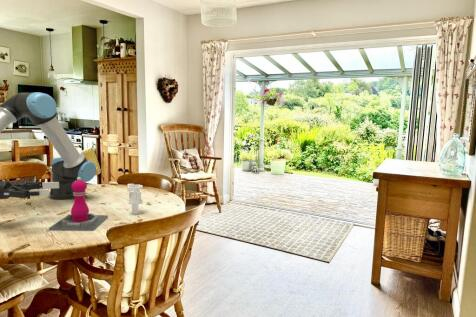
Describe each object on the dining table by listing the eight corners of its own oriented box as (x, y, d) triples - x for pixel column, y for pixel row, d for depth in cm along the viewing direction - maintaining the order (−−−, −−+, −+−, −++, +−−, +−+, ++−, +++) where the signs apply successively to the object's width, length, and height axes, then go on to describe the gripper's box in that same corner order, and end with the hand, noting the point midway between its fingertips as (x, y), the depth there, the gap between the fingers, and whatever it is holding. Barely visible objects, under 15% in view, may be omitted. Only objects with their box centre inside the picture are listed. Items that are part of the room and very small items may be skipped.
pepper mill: (75, 218, 148) (73, 175, 145) (91, 218, 149) (90, 175, 146) (68, 223, 141) (66, 178, 138) (85, 224, 142) (84, 178, 139)
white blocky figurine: (128, 211, 165) (128, 182, 163) (142, 211, 166) (142, 182, 164) (127, 215, 158) (126, 185, 156) (142, 215, 160) (142, 185, 158)
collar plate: (68, 216, 153) (68, 211, 153) (107, 217, 154) (107, 212, 154) (49, 230, 136) (48, 224, 135) (93, 230, 137) (93, 225, 136)
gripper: (11, 191, 148) (62, 190, 153) (-18, 207, 124) (44, 205, 129) (10, 175, 147) (62, 174, 152) (-19, 188, 123) (43, 187, 128)
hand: (54, 188), depth 140 cm, fingers open, 13 cm apart
